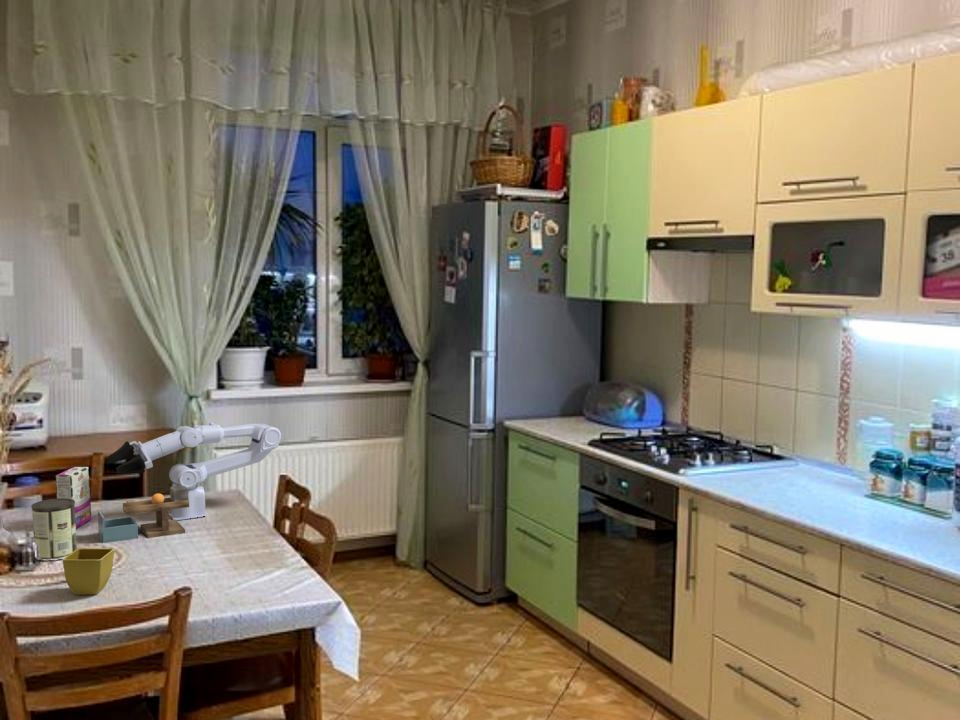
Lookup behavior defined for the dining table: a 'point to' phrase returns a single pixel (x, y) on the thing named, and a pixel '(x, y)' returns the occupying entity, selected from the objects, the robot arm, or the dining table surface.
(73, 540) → the coffee can
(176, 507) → the tipping chute
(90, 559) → the flower pot
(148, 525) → the chute stand
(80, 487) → the candy bar box
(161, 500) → the ball
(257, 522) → the dining table surface
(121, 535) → the blue open bin
